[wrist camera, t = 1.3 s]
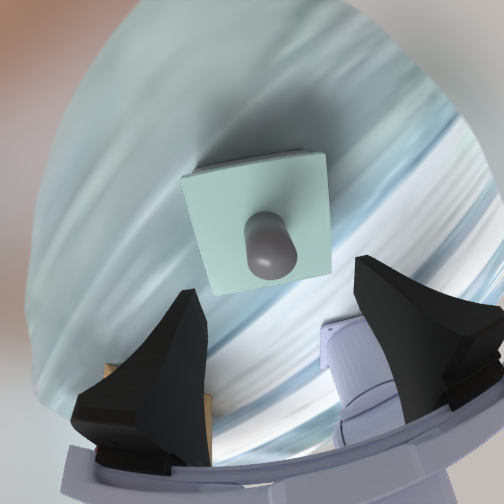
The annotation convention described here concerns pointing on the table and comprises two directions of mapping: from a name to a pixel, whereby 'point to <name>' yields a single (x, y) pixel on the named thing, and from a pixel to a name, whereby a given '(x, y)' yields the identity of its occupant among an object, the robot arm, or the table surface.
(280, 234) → the lid
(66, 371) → the table surface
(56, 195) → the table surface
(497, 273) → the table surface
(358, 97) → the table surface
